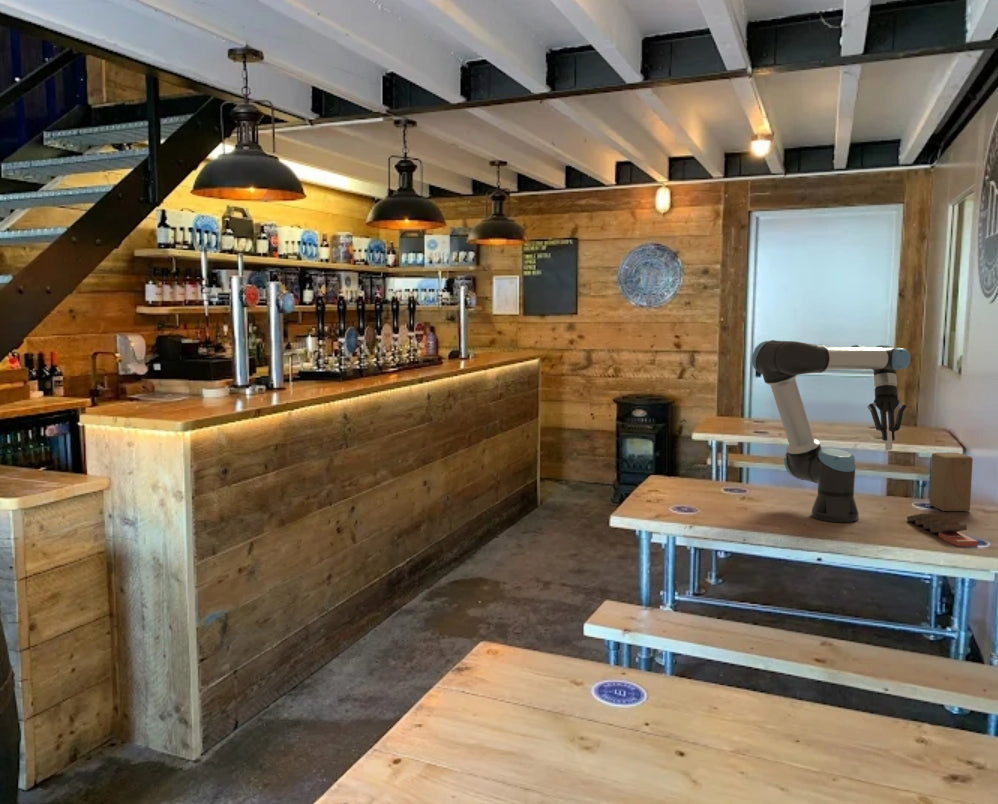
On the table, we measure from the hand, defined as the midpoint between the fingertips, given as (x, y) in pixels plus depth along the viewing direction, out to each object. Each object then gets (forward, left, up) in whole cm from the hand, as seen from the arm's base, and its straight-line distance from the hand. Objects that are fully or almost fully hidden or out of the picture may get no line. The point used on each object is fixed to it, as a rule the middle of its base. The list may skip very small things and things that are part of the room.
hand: (889, 449), depth 284 cm
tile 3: (+8, -27, -21) cm, 35 cm away
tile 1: (+6, -17, -21) cm, 28 cm away
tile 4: (+9, -31, -21) cm, 39 cm away
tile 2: (+7, -22, -21) cm, 31 cm away
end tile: (+11, -35, -21) cm, 43 cm away
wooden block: (+22, +5, -22) cm, 31 cm away
